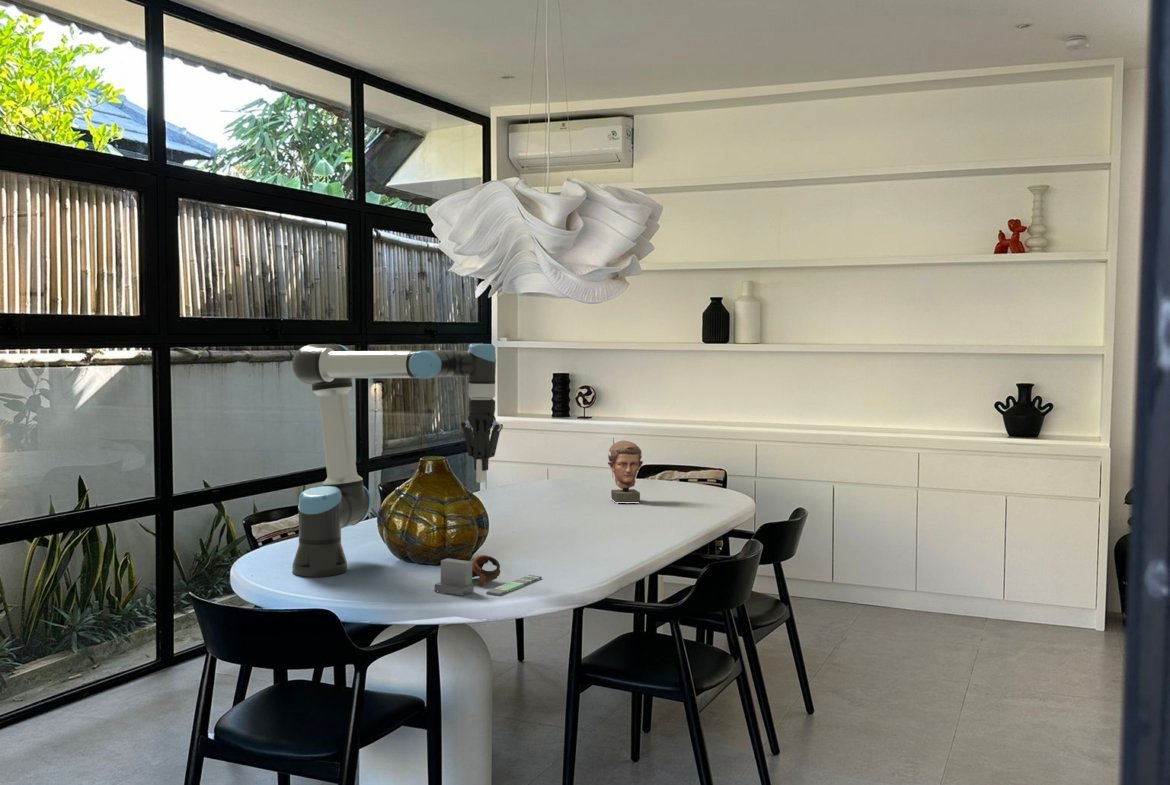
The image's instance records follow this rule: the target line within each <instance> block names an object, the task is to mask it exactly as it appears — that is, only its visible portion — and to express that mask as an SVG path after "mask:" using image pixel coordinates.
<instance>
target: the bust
mask: <svg viewBox="0 0 1170 785" xmlns="http://www.w3.org/2000/svg"><path fill="white" fill-rule="evenodd" d="M607 456H608V457H607V458H608V462H607V464H608V466H609V467H610V470H611V472H612V473H613V475H614V482H615V485H616V486H617V487H618V488H619V489H611V491H610V492H611V498H612V499H613V500H614V501H615V502H640V503H641V493H640V491H638V490H636V489H635V488H633V487H635V484H636V477H637V474H638V471H639V470H640V468H641V467H642V465H643V464H644V462H643V460H641V459H642V458H643V457H642V456H643V455H642V450H641V448H640V447H639V446H638V445H637V444H636V443H634V442H633V441H629V440H619V441H617V442H615V443H614V444H612V445H611V446H610V448H609V450H608V455H607ZM615 502H614V503H615Z"/></svg>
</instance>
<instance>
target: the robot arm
mask: <svg viewBox="0 0 1170 785" xmlns="http://www.w3.org/2000/svg"><path fill="white" fill-rule="evenodd" d="M496 355H497V354H496V346H495V345H494V344H493V343H470V344H469V346H468V349H467V350H453V349H436V350H435V349H434V350H429V349H428V350H427V349H426V350H353V351H352V350H350V349H349V348H348V347H346V346H344V345H342V344H336V343H326V344H325V343H324V344H322V343H321V344H317V343H316V344H307V345H304V346H302V347H300V348H299V349H298V350H297V351H296V352H295V353H294V356H293V359H292V363H291V364H292V365H291V366H292V371H293V373H294V375H295V377H296V378H297V379H298V380H300V382H302V383H304V384H307V385H311V388H312V389H311V390H312V393H313V394H314V395H316V396H317V397H318V404H319V412H320V413H319V415H320V423H321V432H322V440H323V448H324V449H323V450H324V451H323V452H324V457H325V468H326V469H325V470H326V475H327V477H326V478H325V480H324V481H323V482H322V486H317V487H311V488H307V489H305V490H304V491H303V490H302V492H301V493H300V494H299V497H298V505H297V509H298V546H297V550H296V552H295V555H294V559H293V562H292V567H291V568H292V569H291V570H292V574H294V575H297V576H300V577H309V578H313V577H314V578H317V577H331V576H336V575H341V574H343V573H346V572H347V570H348V560H347V558H346V557H347V556H346V554H345V552H344V548H343V546H342V529H343V528H348V527H351V526H355V525H357V524H359V523H361V522H363V521H364V520H365V519H367V517H369V515H370V513H371V512H372V508H373V497H372V494H371V492H370V491H369V490H368V489H367V487H366V486H365V485H364V479H363V477H362V476H360V475H359V474H358V472H357V465H356V464H357V463H356V455H355V446H354V438H353V437H354V436H353V428H352V418H351V410H350V409H351V408H350V399H349V393H350V391H351V390H352V389H353V381H352V380H353V379H421V380H429V379H436V378H438V379H439V378H454V377H455V378H468V398H470V399H469V400H468V409H467V410H468V412H469V414H468V417H467V420H465V421H462V422H461V423H460V427H461V429H462V430H463V433H464V439H465V445H466V450H467V455H468V457H472V458H473V459H474V460H473V464H474V466H473V467H474V470H475V471H476V476H475V480H476V481H475V482H476V483H479V484H480V483H485V482H487V471H488V470H489V459H490V458H494V457H495V456H496V451H497V447H498V442H499V438H500V434H501V433H500V432H501V431H502V430H503V428H504V424H502V423H499V422H498V421H497V420H496V416H495V413H496V400H495V399H494V398H496V373H497V372H496V370H497V369H496V366H497V358H496Z"/></svg>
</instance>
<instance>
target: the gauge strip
mask: <svg viewBox="0 0 1170 785" xmlns="http://www.w3.org/2000/svg"><path fill="white" fill-rule="evenodd" d="M542 578H543V577H542V576H541V575H535V574H528V575H525V576H522V577H520V578H517V579H514V580H513V581H509V582H507V583H504V584H501V585H499V586H496V587H494V588H492V589H490V590H487V591H485V592H486V595H490V594H491V596H497V597H498V596H499V597H500V596H502V595H505V594H508V593H510V592H513V591H514V590H517V588H518V589H520V588H522V587H525V586H528V585H529V584H532V583H535V582H537V581H539V579H540V580H541V579H542ZM542 580H543V579H542ZM512 590H513V591H512ZM509 591H510V592H509ZM507 592H508V593H507Z"/></svg>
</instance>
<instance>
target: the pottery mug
mask: <svg viewBox="0 0 1170 785" xmlns="http://www.w3.org/2000/svg"><path fill="white" fill-rule="evenodd" d="M462 560H463V561H467V560H465V559H462ZM471 562H472V579H473V578H475V577H479V578H478V580H477V585H478V586H481V587H484V585H485V584H486V583H489V582H491V581H495V580H497V579H498V577H499V576H500V575H501V574H500V573H501V569H500V568H501V565H500V562H499V561H498V560H497V559H496V558H495V557H493V556H489V555H481V554H480V555H478V556H476V557H475V558H474V559H473V560H472V561H471ZM489 562H490V563H491V564H492V565H493V566H495V569H493V570H485V569H483V566H484V565H485V564H488V563H489Z"/></svg>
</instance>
